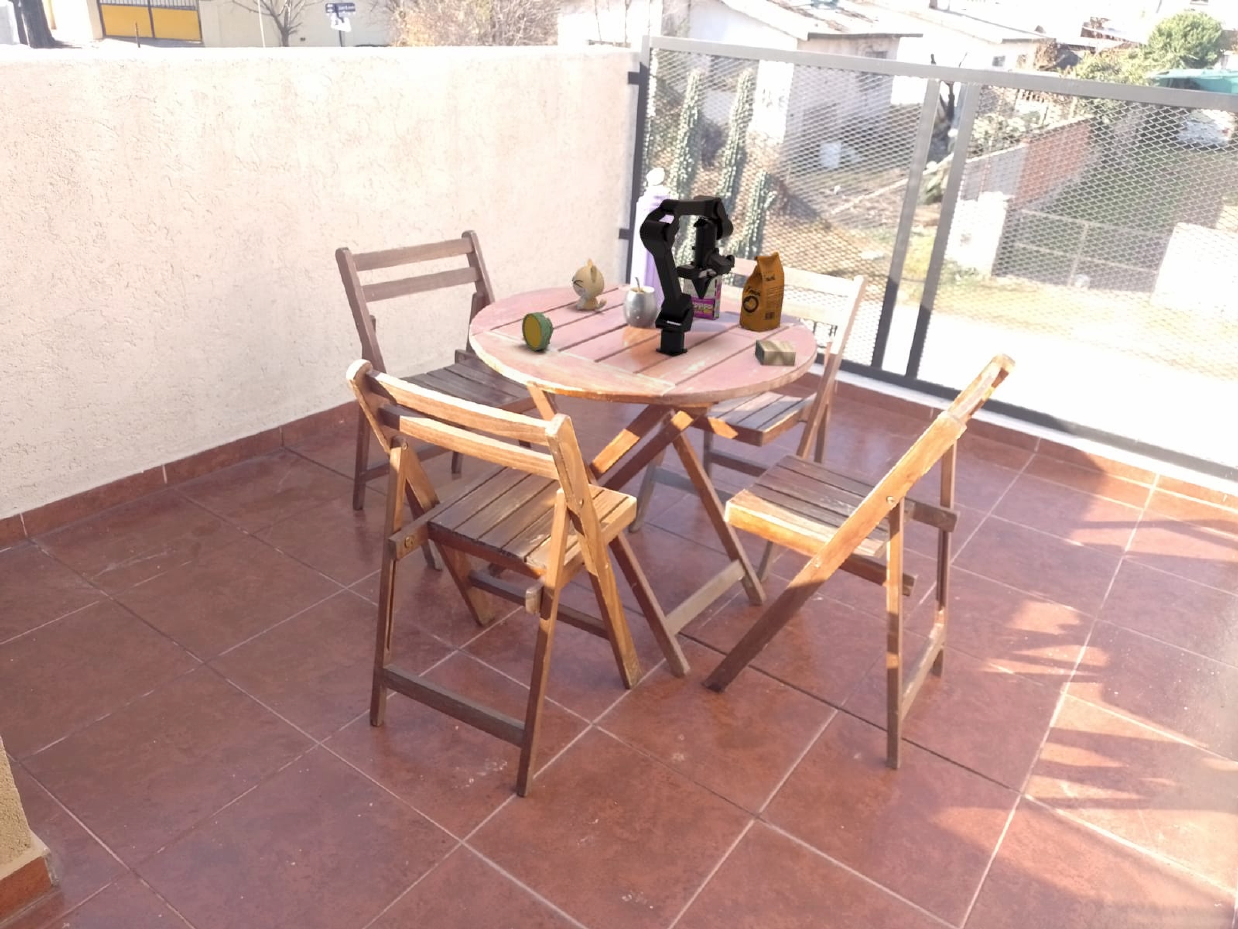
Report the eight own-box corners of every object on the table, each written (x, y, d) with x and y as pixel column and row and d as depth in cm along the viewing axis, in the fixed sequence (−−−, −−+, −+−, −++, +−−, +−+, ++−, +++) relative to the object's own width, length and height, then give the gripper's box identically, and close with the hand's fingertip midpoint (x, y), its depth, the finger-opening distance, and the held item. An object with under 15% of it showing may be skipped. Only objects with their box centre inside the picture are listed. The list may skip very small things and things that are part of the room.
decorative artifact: (521, 345, 248) (521, 309, 243) (543, 341, 252) (543, 306, 247) (542, 354, 241) (542, 318, 236) (563, 350, 245) (564, 314, 240)
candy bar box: (719, 317, 282) (724, 264, 275) (713, 320, 278) (718, 267, 271) (687, 311, 286) (690, 259, 279) (680, 314, 282) (684, 262, 275)
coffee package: (733, 326, 273) (740, 253, 264) (759, 319, 281) (766, 248, 272) (759, 333, 266) (767, 259, 257) (784, 326, 274) (793, 254, 265)
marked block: (762, 351, 238) (796, 352, 239) (756, 339, 248) (788, 340, 248) (760, 365, 240) (794, 366, 240) (754, 353, 249) (786, 354, 250)
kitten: (568, 302, 290) (569, 256, 284) (599, 302, 292) (600, 256, 286) (575, 315, 277) (575, 266, 271) (607, 315, 279) (608, 266, 272)
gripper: (707, 252, 235) (702, 310, 242) (749, 243, 248) (744, 299, 254) (674, 245, 242) (671, 302, 249) (717, 237, 255) (713, 291, 261)
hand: (701, 299), depth 253 cm, fingers closed
